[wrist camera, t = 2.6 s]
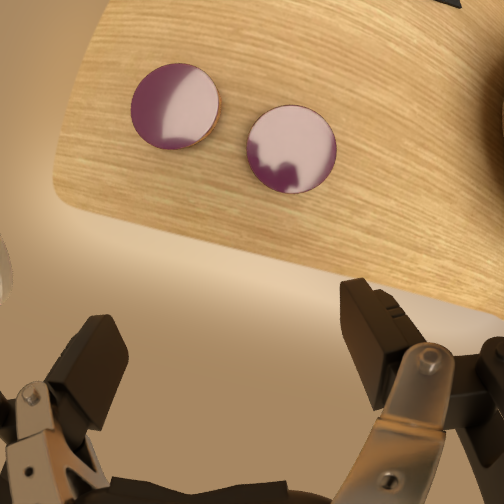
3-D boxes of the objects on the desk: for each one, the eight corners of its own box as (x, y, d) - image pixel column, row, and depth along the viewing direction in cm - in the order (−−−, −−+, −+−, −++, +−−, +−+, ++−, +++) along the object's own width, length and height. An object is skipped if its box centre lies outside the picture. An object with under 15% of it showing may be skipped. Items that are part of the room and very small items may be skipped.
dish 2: (252, 191, 21) (253, 199, 19) (240, 113, 19) (240, 110, 17) (329, 182, 21) (340, 189, 19) (321, 105, 19) (331, 102, 16)
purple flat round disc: (149, 154, 20) (137, 158, 18) (138, 81, 18) (125, 76, 15) (227, 140, 20) (225, 140, 17) (216, 64, 18) (212, 55, 15)
